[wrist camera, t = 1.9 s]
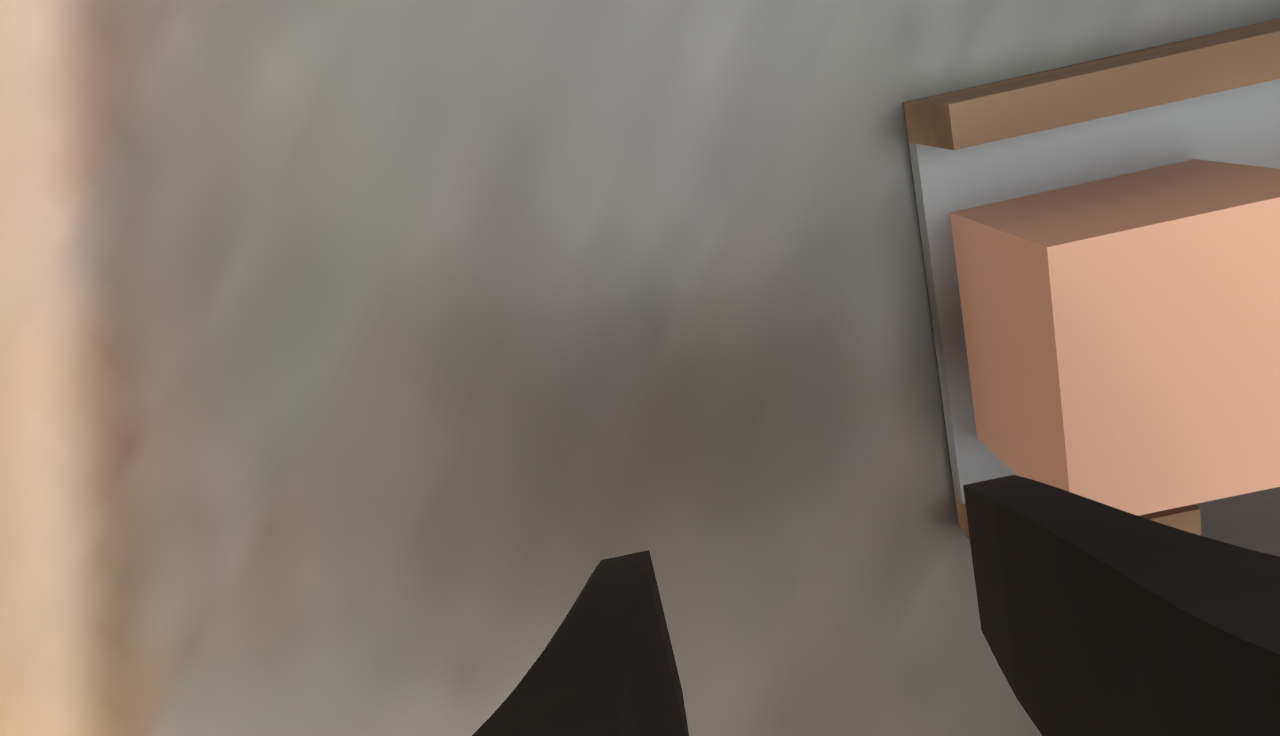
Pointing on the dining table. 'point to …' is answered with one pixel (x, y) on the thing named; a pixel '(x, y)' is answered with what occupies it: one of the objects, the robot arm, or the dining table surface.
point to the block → (1129, 333)
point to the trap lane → (1079, 153)
